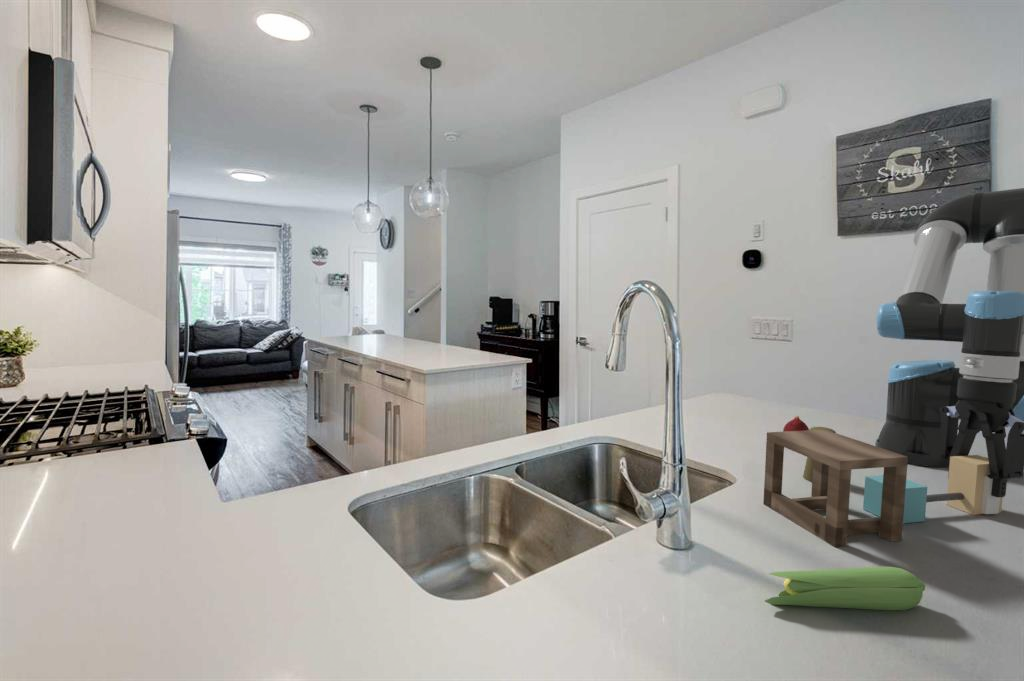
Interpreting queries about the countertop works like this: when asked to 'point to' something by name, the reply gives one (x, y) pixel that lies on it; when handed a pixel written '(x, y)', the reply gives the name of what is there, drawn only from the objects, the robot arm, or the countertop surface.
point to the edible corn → (851, 588)
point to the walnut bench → (835, 484)
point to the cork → (809, 462)
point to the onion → (795, 425)
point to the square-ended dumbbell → (960, 495)
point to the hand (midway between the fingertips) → (973, 506)
